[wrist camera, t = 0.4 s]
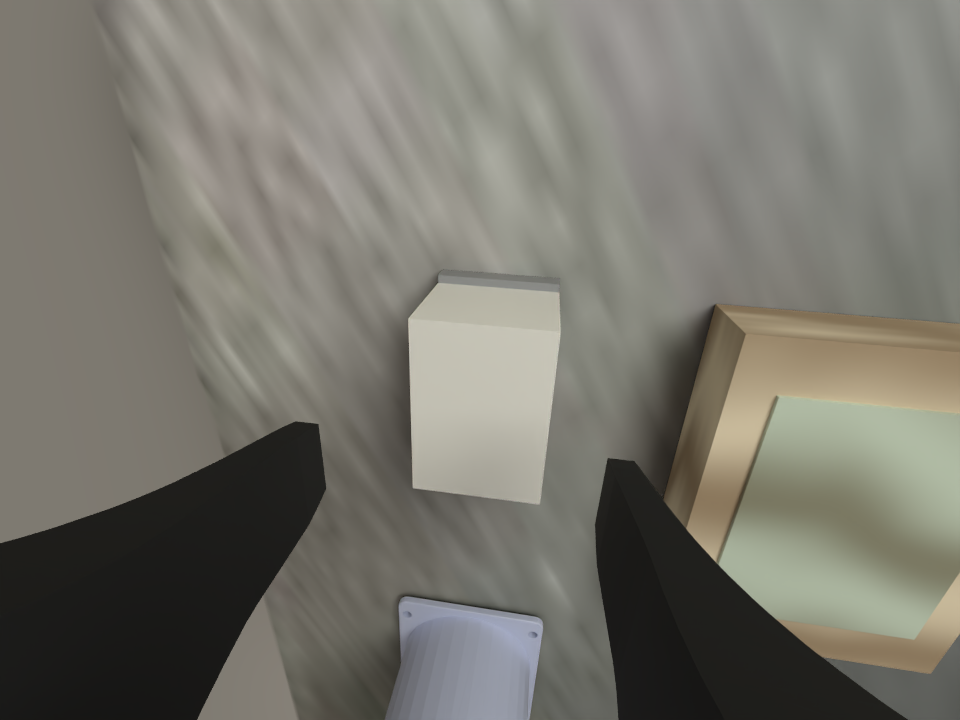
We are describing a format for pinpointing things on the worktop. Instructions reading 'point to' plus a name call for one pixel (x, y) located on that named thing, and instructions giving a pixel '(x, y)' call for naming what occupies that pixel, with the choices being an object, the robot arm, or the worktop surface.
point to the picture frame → (830, 477)
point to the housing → (483, 383)
